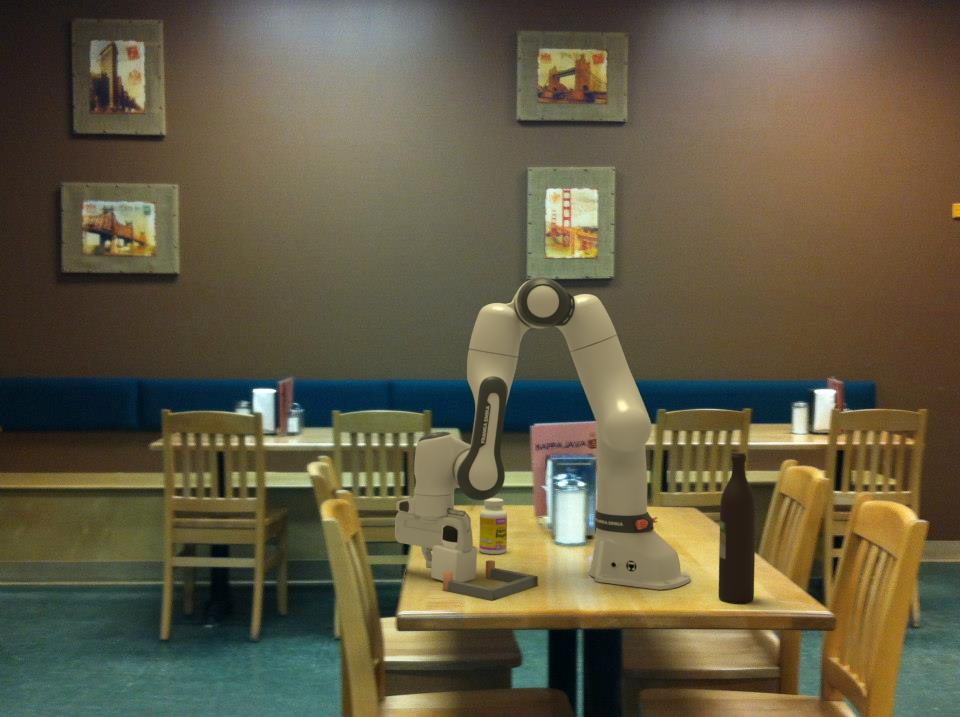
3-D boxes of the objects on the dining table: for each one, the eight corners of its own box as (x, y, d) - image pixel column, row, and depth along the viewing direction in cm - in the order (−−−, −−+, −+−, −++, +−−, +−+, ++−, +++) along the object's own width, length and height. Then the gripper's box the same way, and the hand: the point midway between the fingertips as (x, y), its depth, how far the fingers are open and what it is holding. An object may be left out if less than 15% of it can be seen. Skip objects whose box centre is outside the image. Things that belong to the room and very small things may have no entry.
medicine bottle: (476, 579, 236) (479, 525, 235) (455, 585, 231) (458, 529, 230) (451, 571, 241) (454, 518, 240) (430, 577, 235) (433, 523, 234)
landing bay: (538, 585, 231) (538, 569, 231) (491, 600, 218) (491, 583, 218) (489, 575, 239) (489, 559, 239) (441, 590, 226) (441, 573, 226)
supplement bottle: (495, 556, 259) (496, 502, 259) (473, 552, 263) (474, 499, 263) (512, 551, 264) (512, 499, 264) (490, 547, 268) (490, 496, 268)
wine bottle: (733, 593, 226) (736, 450, 225) (761, 600, 220) (764, 454, 219) (711, 598, 222) (713, 452, 221) (738, 605, 216) (741, 456, 215)
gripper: (479, 509, 234) (478, 573, 235) (409, 498, 247) (409, 558, 248) (460, 513, 229) (459, 578, 230) (390, 502, 242) (389, 563, 243)
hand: (432, 568), depth 239 cm, fingers closed
